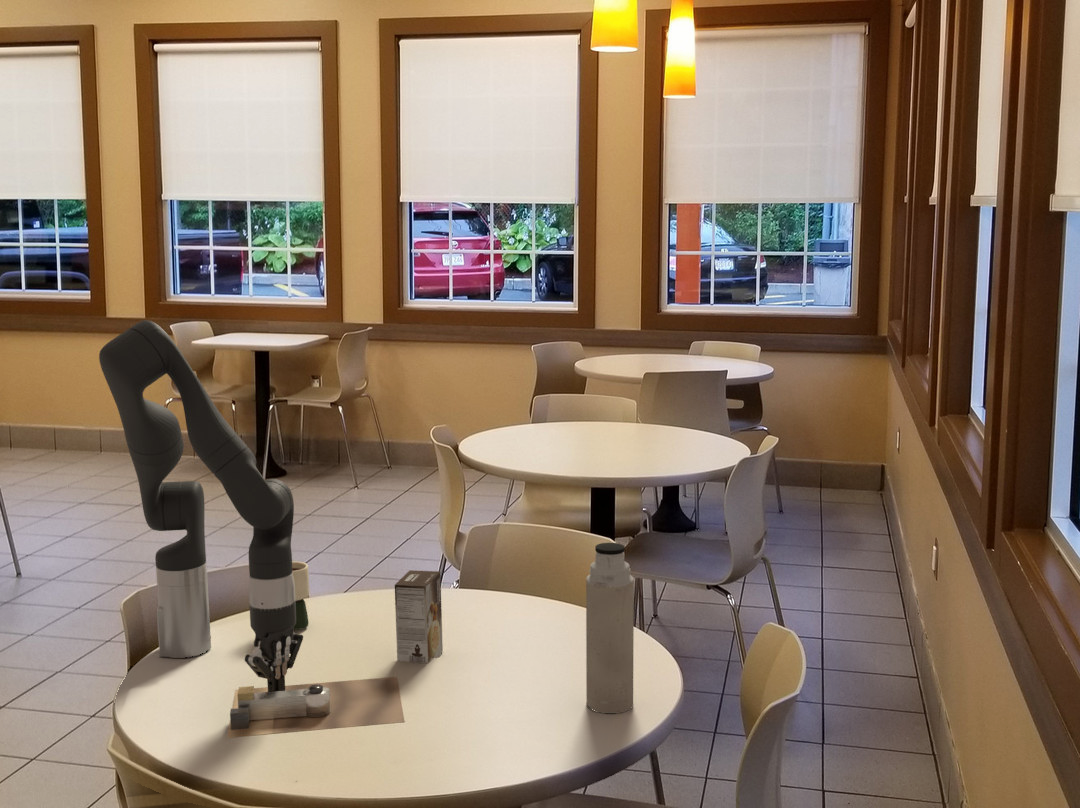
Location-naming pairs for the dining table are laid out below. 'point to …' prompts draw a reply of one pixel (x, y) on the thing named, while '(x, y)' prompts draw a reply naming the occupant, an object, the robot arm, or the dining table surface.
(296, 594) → the character mug
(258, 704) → the latch bar
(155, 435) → the robot arm
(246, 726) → the block
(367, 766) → the dining table surface
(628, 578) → the thermos bottle
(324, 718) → the door board
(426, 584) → the coffee box
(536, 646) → the dining table surface
